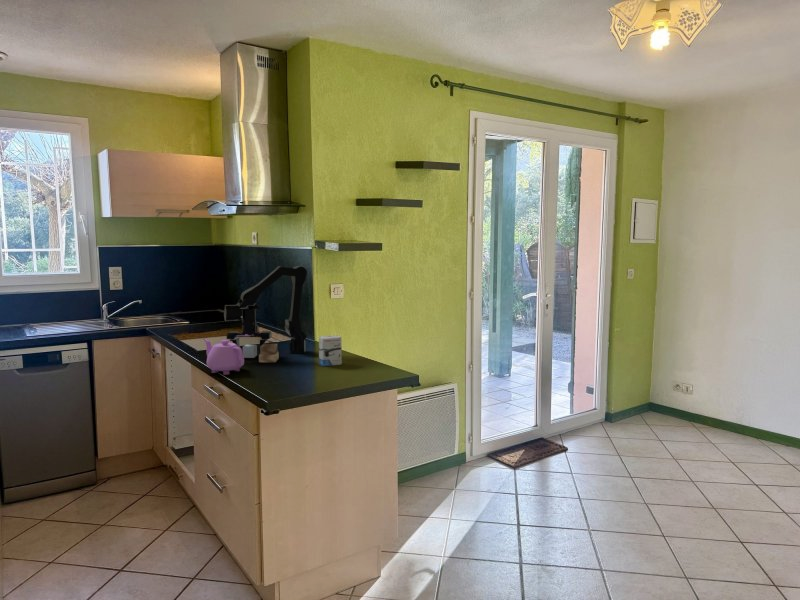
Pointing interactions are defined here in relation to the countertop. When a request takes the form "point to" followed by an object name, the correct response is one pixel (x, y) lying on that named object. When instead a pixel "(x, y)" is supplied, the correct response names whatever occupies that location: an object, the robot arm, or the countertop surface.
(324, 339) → the ink box
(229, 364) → the teapot
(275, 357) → the oak base slab
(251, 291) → the robot arm
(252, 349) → the pale blue cube
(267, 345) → the walnut mid slab
